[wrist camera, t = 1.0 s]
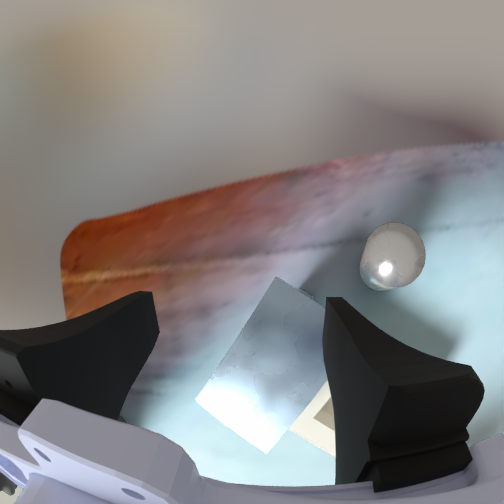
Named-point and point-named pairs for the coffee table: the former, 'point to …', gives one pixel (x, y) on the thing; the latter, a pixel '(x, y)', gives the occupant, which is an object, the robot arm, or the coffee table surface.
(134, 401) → the coffee table surface
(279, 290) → the grey arch block
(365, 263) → the peg
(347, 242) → the coffee table surface
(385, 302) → the coffee table surface
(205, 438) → the coffee table surface
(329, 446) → the socket block
